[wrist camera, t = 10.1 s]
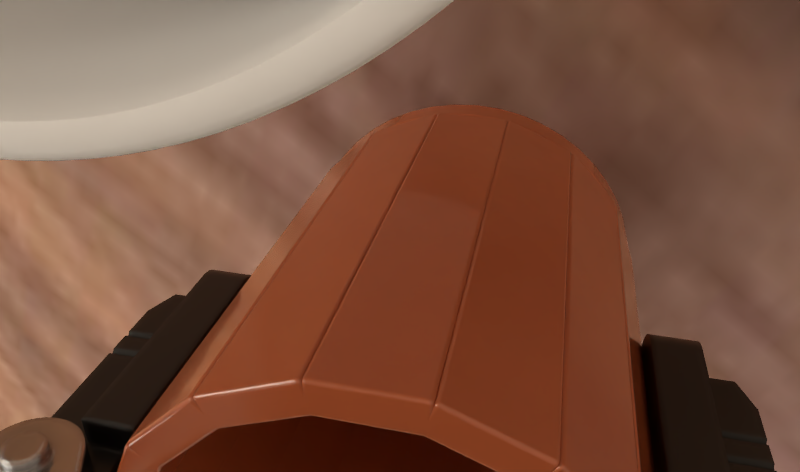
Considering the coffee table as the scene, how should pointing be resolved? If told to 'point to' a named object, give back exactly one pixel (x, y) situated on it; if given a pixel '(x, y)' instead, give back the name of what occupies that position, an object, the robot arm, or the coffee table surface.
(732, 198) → the coffee table surface
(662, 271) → the coffee table surface
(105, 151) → the mug
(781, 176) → the coffee table surface
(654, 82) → the coffee table surface
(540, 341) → the pot
